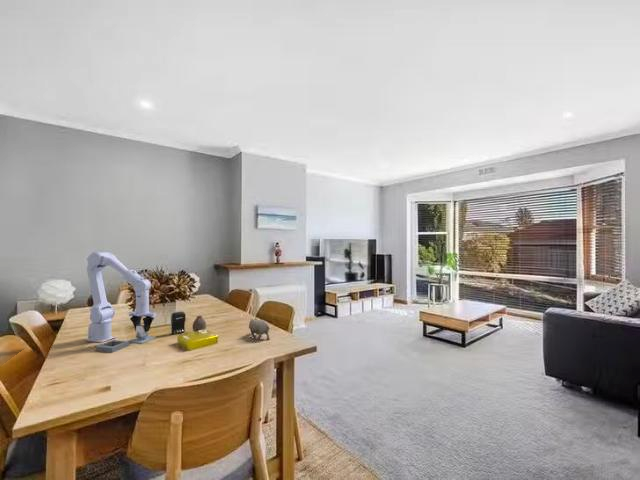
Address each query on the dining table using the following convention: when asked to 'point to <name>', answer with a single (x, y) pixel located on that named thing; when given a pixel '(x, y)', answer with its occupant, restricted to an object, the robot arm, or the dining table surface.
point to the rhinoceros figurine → (259, 328)
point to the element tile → (197, 339)
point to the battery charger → (178, 322)
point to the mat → (142, 340)
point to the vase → (199, 324)
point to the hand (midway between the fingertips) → (142, 330)
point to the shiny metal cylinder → (141, 331)
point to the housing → (116, 345)
